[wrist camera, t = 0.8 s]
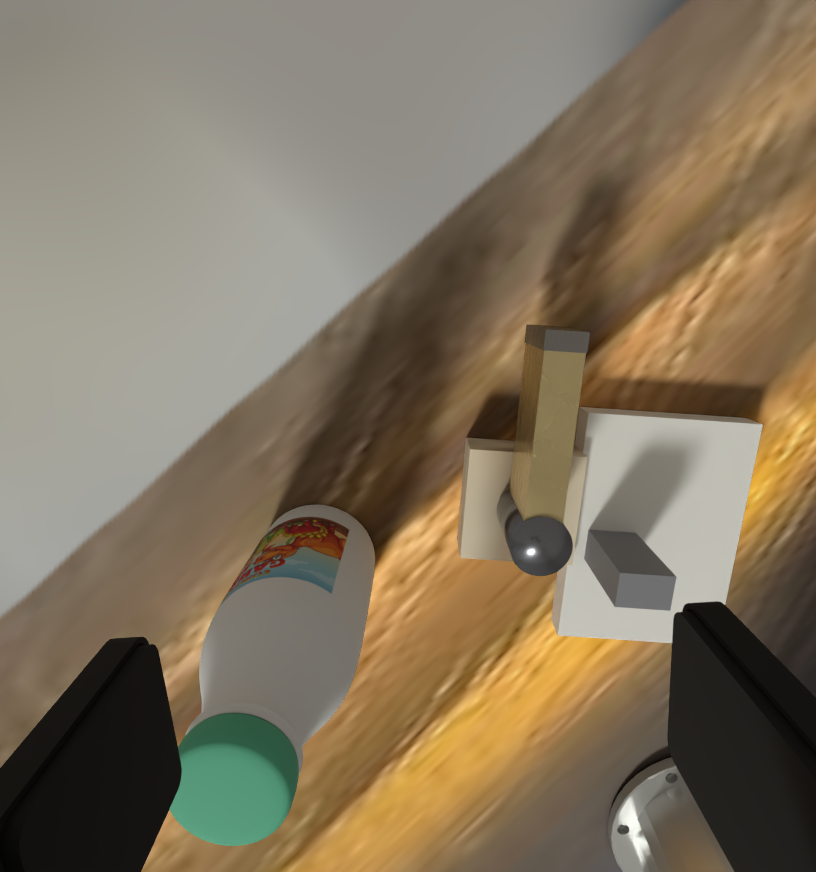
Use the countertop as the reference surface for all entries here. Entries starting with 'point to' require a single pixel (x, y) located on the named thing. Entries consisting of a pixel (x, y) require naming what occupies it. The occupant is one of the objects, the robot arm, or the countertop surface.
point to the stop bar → (544, 449)
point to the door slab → (653, 520)
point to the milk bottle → (274, 673)
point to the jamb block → (486, 486)
